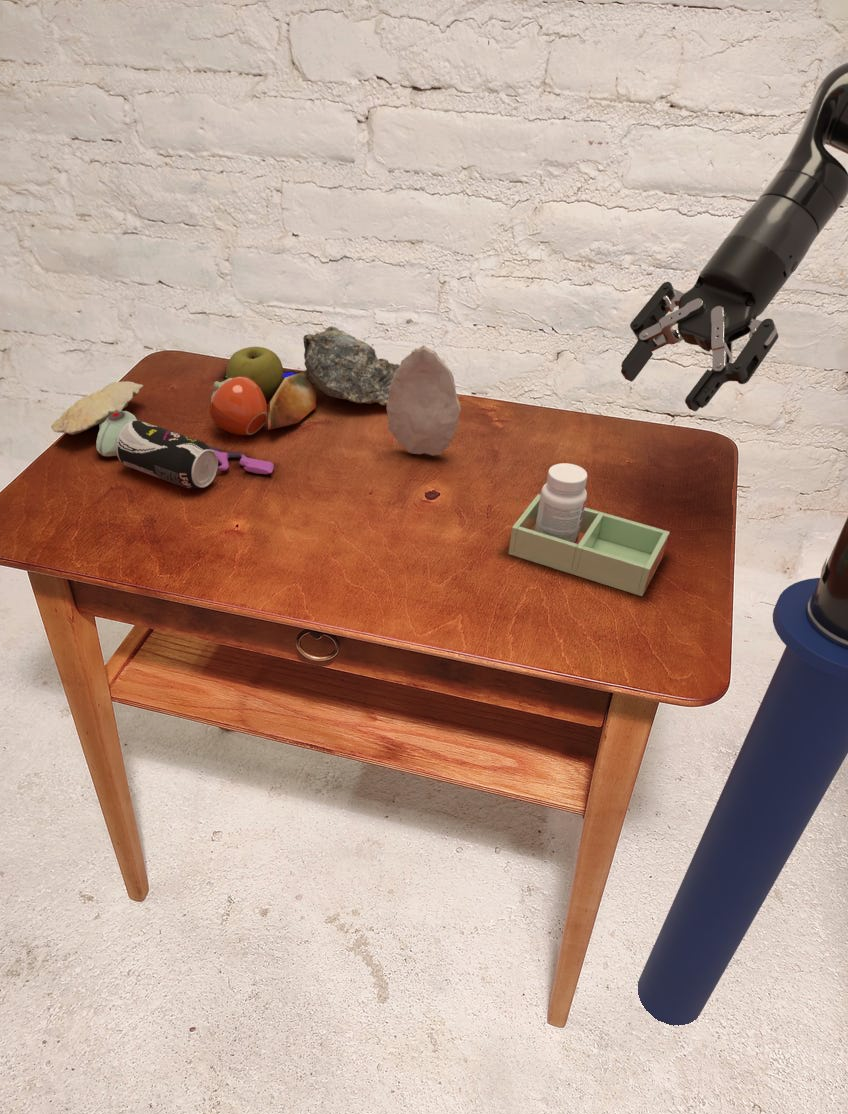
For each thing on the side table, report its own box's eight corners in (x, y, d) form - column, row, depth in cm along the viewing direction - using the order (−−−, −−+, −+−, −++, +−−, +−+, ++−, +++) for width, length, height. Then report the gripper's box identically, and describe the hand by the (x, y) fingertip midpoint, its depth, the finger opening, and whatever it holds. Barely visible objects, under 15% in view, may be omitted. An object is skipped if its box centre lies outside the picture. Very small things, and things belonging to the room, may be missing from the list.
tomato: (283, 412, 115) (243, 372, 117) (269, 392, 108) (225, 350, 109) (244, 452, 116) (204, 412, 117) (227, 435, 108) (184, 393, 110)
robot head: (130, 470, 108) (162, 434, 111) (115, 445, 104) (149, 408, 107) (85, 459, 111) (117, 425, 114) (69, 434, 108) (102, 399, 111)
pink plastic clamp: (281, 462, 107) (258, 477, 104) (281, 469, 108) (259, 484, 104) (146, 425, 114) (120, 438, 111) (146, 431, 115) (121, 445, 111)
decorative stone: (256, 393, 109) (239, 401, 111) (276, 436, 111) (259, 442, 113) (313, 363, 120) (296, 370, 121) (330, 403, 121) (314, 409, 123)
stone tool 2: (457, 454, 111) (468, 338, 101) (455, 467, 109) (466, 350, 99) (386, 447, 112) (389, 332, 102) (382, 459, 110) (385, 343, 100)
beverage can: (147, 417, 108) (224, 443, 103) (142, 463, 110) (218, 490, 106) (114, 419, 103) (193, 446, 99) (109, 466, 105) (187, 495, 101)
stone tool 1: (91, 450, 109) (160, 398, 119) (79, 419, 106) (150, 369, 116) (42, 447, 112) (112, 397, 122) (29, 417, 110) (102, 369, 120)
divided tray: (662, 558, 95) (670, 531, 92) (642, 596, 90) (650, 569, 87) (533, 519, 100) (538, 493, 98) (508, 554, 95) (512, 527, 93)
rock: (409, 337, 114) (357, 378, 110) (415, 398, 122) (367, 439, 118) (331, 303, 120) (280, 341, 117) (342, 363, 128) (294, 401, 125)
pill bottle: (584, 549, 95) (599, 481, 89) (543, 555, 94) (555, 487, 88) (566, 525, 98) (579, 458, 93) (526, 530, 97) (537, 463, 92)
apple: (220, 411, 118) (214, 361, 114) (243, 386, 124) (238, 337, 120) (272, 419, 117) (269, 368, 112) (293, 394, 123) (291, 344, 118)
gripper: (690, 216, 90) (593, 350, 93) (813, 253, 82) (702, 399, 84) (709, 261, 96) (617, 385, 99) (826, 299, 88) (722, 434, 90)
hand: (657, 391), depth 91 cm, fingers open, 8 cm apart
